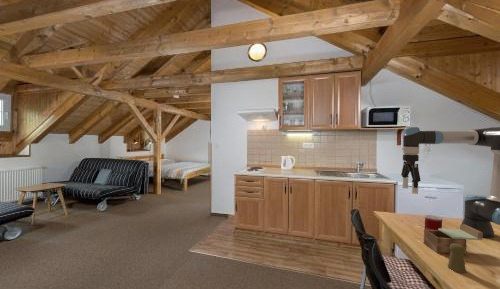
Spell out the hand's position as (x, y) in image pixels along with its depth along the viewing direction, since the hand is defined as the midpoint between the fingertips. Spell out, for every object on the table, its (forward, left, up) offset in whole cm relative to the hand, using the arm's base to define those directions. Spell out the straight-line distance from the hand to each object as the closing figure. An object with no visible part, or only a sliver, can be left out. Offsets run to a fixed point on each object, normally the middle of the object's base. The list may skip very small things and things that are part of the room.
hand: (409, 190), depth 134 cm
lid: (-18, +13, -19) cm, 29 cm away
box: (-11, +13, -27) cm, 32 cm away
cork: (-3, +33, -27) cm, 43 cm away
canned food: (-16, -5, -28) cm, 32 cm away
